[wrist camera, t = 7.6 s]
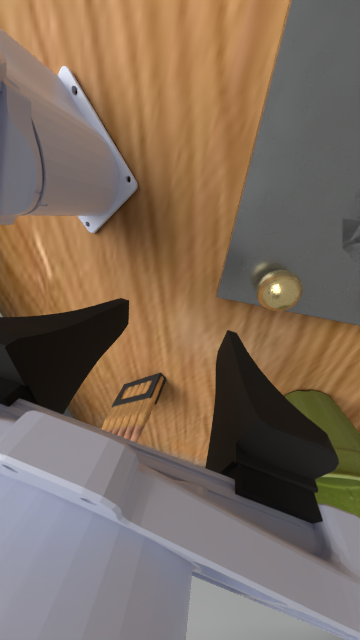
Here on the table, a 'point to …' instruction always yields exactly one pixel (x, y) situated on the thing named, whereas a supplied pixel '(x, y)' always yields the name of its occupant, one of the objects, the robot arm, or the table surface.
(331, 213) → the hole plate
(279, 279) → the brass ball
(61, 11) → the table surface
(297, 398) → the plant pot
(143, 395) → the ammunition clip
